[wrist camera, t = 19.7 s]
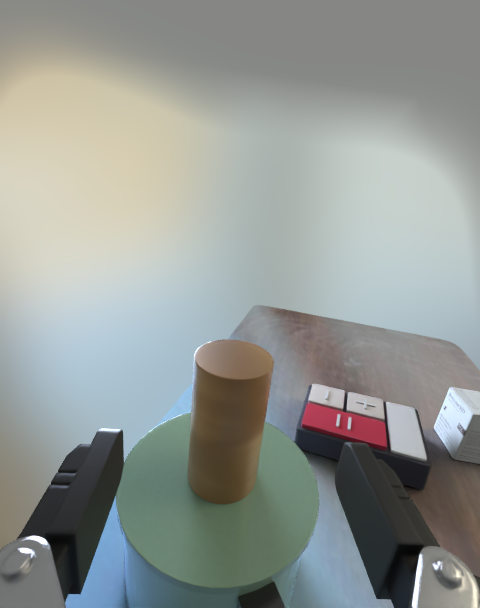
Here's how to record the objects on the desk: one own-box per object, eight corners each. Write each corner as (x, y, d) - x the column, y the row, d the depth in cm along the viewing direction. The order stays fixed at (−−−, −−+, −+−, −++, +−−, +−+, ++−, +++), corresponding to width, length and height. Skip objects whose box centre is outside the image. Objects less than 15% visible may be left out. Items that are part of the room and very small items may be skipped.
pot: (128, 763, 17) (124, 664, 14) (115, 498, 32) (111, 419, 28) (343, 639, 23) (375, 550, 20) (250, 462, 37) (260, 394, 34)
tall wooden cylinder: (197, 514, 21) (207, 384, 18) (180, 454, 25) (186, 342, 22) (267, 493, 23) (288, 373, 20) (240, 441, 27) (253, 336, 24)
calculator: (310, 379, 49) (418, 404, 44) (307, 403, 50) (411, 429, 46) (296, 423, 39) (434, 461, 34) (292, 451, 40) (424, 491, 36)
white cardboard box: (432, 428, 47) (448, 385, 44) (475, 435, 46) (494, 392, 44) (453, 460, 41) (472, 413, 38) (503, 469, 40) (526, 422, 38)
